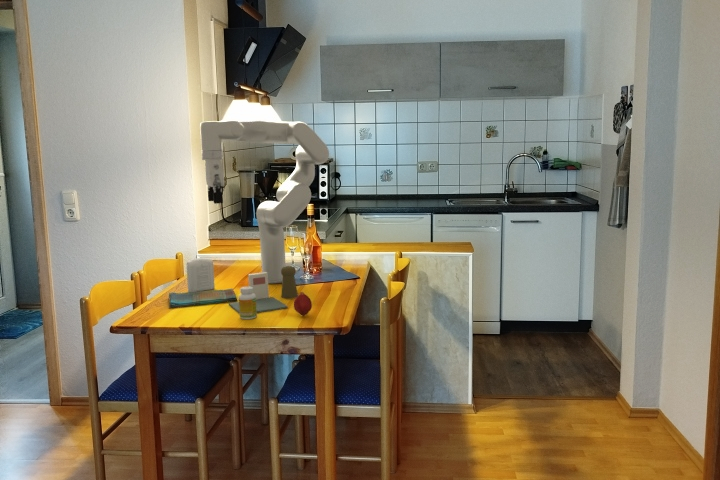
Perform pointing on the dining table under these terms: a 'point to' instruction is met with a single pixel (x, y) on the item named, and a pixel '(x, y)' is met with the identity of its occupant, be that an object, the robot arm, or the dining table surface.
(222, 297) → the dish towel
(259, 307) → the mat
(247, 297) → the supplement bottle
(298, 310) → the onion
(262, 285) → the card box
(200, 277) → the photo printer
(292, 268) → the pepper shaker
